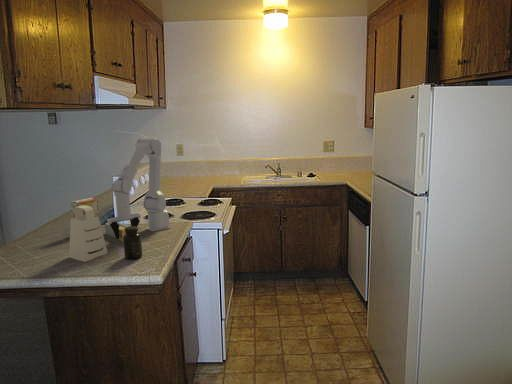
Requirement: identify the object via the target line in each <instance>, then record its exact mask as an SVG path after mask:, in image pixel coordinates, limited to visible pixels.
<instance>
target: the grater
mask: <svg viewBox="0 0 512 384" xmlns="http://www.w3.org/2000/svg"><path fill="white" fill-rule="evenodd" d="M83 209H84V210H85V213H86V215H83ZM74 212H75V218H73V217H71V218H70V224H69V225H70V229H69V232H70V233H69V249H68V250H69V253H68V258H70V259H72V260H73V259H74V260H77V261H80V262H84V263H86V262H89V261H92V260H96V258H98V257H101V256H105V255H106V254H108V248H107V244H106V241H105V240H106V239H105V238H104V236H103V234H104V233H103V229H102V225H101V222H100V216H99V217H98V216H94V209H93V207H91V206H85V205H83V206H78V207H75V209H74ZM97 227H98V228H97ZM93 228H94V229H96V230H92V229H93ZM95 251H96V252H95ZM92 252H93V253H92Z"/></svg>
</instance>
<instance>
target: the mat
mask: <svg viewBox="0 0 512 384" xmlns="http://www.w3.org/2000/svg"><path fill="white" fill-rule="evenodd" d="M103 236H104V240H107V241H109V242H111V243H112V244H115V245H117V246H119V247H121V248H124V244H123V241H121V240H118V239H116V238H114V237H112V236H110V235H107V234H106V233H103ZM141 242H142V243H145V242H146V243H147V242H151V239H147V238H145V237H144V236H141Z"/></svg>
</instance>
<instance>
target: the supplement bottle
mask: <svg viewBox="0 0 512 384" xmlns="http://www.w3.org/2000/svg"><path fill="white" fill-rule="evenodd" d="M125 233H126V234H125V235H124V236H123V244H124V247H123V252H124V258H125V260H129V261H132V260H137V259H141V258H142V257H143V244H142V243H143V242H141V237H142V235H141V233H139V227H138V226H131V225H129V226H128V227H126V228H125Z"/></svg>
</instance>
